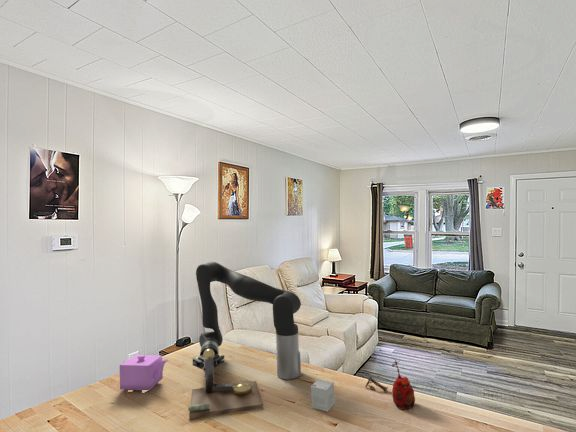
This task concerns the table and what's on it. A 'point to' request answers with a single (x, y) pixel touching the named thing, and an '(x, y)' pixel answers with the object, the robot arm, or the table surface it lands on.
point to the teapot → (141, 372)
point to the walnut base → (223, 402)
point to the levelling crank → (237, 387)
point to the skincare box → (322, 395)
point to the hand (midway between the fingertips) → (207, 369)
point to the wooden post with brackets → (375, 384)
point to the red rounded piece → (403, 392)
